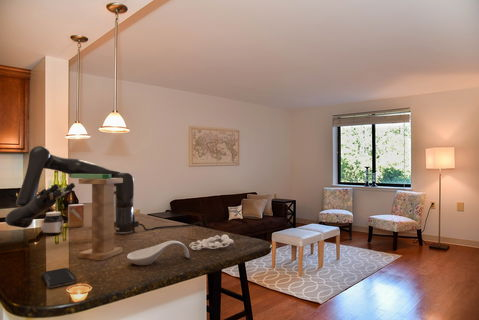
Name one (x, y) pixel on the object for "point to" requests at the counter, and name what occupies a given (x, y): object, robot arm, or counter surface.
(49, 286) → the phone
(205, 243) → the tangled rod sculpture
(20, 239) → the counter surface
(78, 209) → the small box
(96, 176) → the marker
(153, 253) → the spoon rest
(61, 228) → the spread jar
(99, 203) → the wooden pedestal stand
